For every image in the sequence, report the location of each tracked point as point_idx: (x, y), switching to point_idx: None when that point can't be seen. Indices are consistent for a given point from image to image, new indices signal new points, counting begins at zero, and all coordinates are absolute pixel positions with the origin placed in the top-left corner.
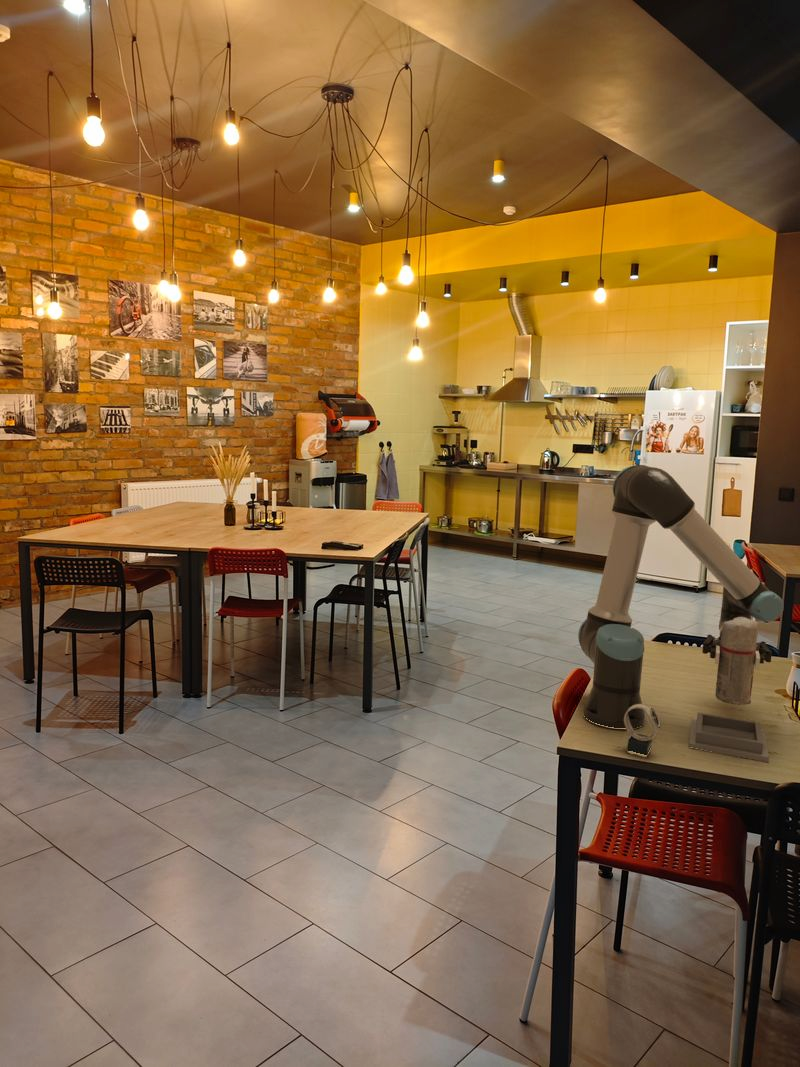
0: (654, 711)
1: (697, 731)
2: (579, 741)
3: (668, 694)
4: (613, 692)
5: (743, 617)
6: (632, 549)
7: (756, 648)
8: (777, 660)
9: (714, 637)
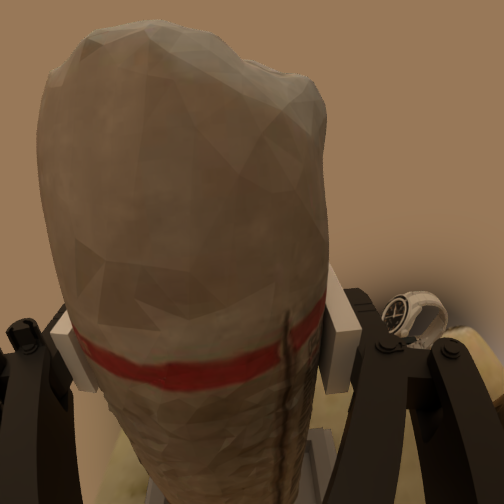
0: (403, 315)
1: (321, 432)
2: (476, 349)
3: None
4: None
5: (112, 30)
6: None
7: (19, 402)
8: None
9: None
